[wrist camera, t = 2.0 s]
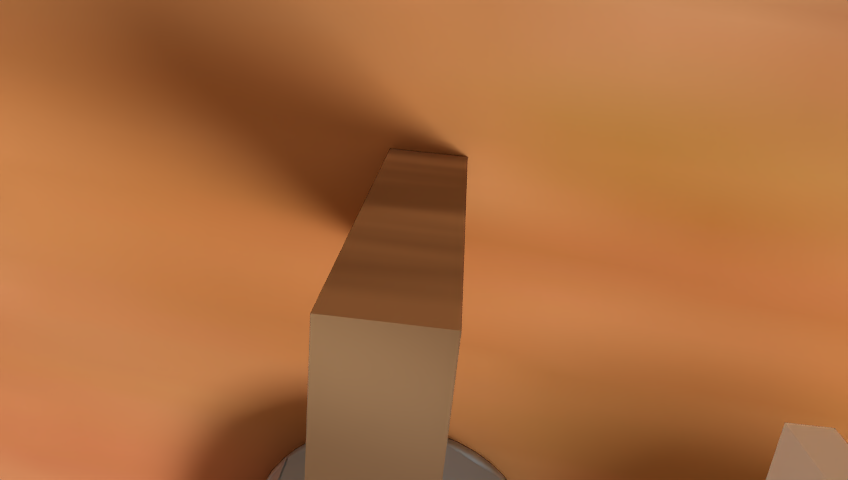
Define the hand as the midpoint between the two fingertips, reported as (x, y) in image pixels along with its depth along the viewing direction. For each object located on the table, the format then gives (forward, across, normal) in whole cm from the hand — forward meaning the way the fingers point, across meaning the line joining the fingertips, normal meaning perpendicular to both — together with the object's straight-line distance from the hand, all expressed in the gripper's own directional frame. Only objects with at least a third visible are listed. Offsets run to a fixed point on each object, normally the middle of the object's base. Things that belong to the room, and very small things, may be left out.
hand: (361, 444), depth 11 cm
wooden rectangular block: (+12, 0, 0) cm, 12 cm away
